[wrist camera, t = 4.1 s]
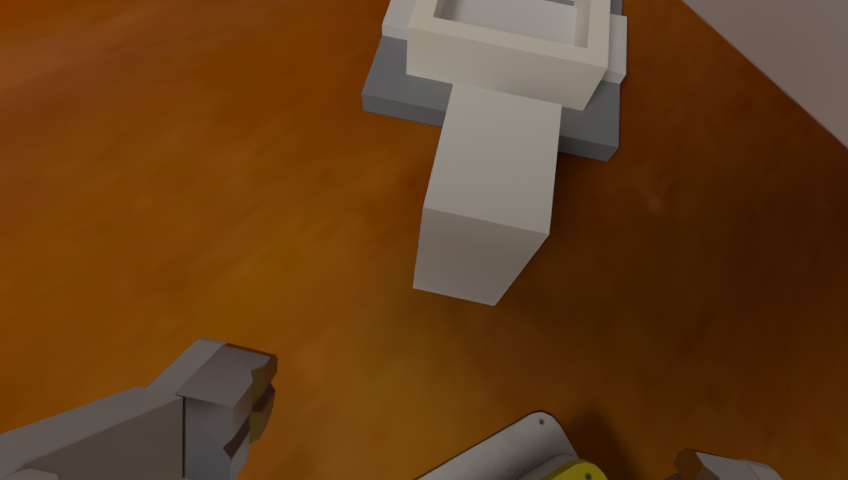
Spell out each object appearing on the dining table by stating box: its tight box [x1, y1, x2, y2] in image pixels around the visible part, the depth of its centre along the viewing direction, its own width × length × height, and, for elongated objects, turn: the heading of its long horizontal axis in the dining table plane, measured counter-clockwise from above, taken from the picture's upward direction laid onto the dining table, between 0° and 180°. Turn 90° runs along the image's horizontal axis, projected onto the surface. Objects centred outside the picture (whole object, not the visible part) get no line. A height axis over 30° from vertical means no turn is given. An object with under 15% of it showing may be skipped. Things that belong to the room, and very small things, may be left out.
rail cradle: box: [362, 0, 627, 162], centre depth 29 cm, size 16×16×5 cm
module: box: [413, 82, 562, 306], centre depth 21 cm, size 5×6×9 cm
